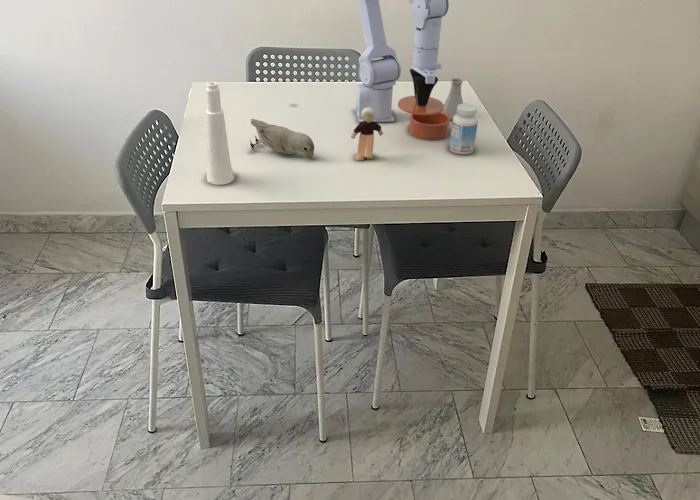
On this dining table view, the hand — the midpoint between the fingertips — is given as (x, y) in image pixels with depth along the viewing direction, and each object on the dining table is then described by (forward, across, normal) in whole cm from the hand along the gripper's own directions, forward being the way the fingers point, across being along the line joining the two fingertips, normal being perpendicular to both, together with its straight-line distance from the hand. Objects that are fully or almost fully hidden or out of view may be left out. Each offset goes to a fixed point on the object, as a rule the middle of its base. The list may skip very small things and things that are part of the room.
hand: (421, 101), depth 162 cm
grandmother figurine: (+11, -8, +14) cm, 19 cm away
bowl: (+10, +6, -4) cm, 13 cm away
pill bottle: (+11, -5, -10) cm, 16 cm away
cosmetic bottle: (+11, -17, +48) cm, 52 cm away
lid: (+1, 0, 0) cm, 1 cm away
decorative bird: (+11, -5, +34) cm, 36 cm away
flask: (+11, +16, -13) cm, 23 cm away
